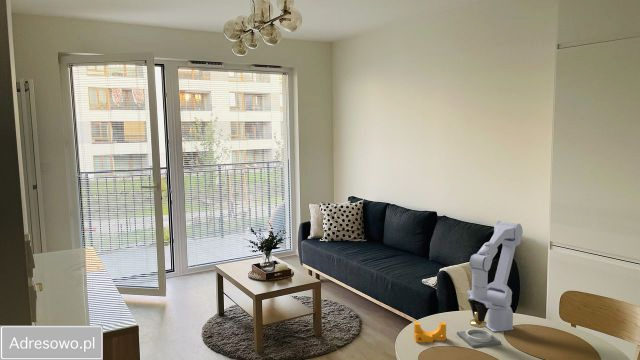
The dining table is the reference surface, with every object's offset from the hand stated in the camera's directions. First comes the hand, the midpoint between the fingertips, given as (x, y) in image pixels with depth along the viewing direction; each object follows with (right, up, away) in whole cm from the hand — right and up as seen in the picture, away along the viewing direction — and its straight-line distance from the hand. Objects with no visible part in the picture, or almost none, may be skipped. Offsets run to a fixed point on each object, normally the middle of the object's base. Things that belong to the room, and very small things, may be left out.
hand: (478, 319), depth 184 cm
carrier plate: (0, -8, +1) cm, 8 cm away
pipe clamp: (-19, -9, +1) cm, 21 cm away
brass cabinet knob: (0, -2, 0) cm, 2 cm away
